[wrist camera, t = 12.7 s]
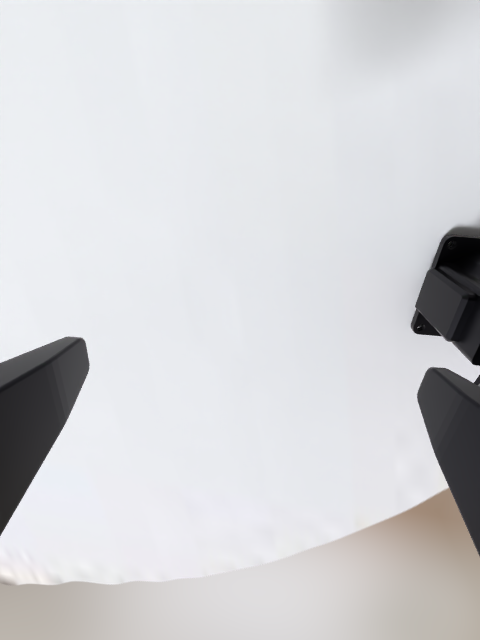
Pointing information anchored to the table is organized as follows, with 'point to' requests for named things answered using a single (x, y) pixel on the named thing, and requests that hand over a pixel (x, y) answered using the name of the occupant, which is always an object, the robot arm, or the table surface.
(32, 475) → the robot arm
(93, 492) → the table surface
